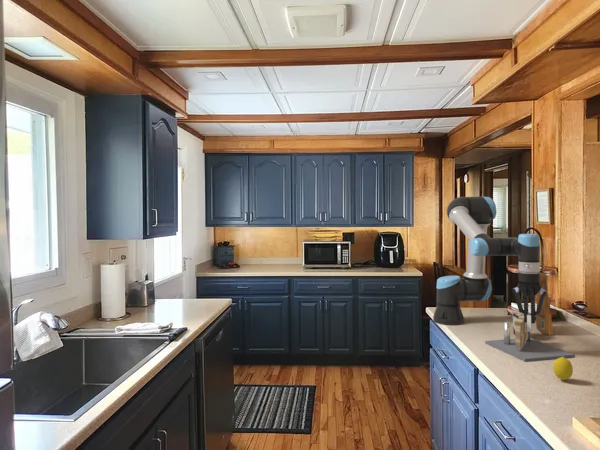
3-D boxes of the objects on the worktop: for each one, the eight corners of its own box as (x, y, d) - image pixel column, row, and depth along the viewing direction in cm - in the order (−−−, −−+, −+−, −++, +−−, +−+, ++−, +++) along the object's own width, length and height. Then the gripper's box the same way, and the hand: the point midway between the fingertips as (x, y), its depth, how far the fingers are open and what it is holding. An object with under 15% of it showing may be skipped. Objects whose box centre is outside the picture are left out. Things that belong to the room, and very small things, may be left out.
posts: (502, 345, 182) (502, 315, 182) (526, 341, 187) (526, 311, 187) (508, 347, 179) (508, 316, 179) (532, 343, 184) (532, 313, 184)
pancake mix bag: (539, 335, 196) (539, 274, 195) (530, 325, 214) (530, 269, 213) (556, 337, 194) (556, 274, 193) (545, 326, 212) (545, 269, 211)
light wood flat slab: (522, 338, 184) (522, 314, 184) (528, 338, 183) (528, 314, 182) (514, 347, 171) (514, 321, 171) (521, 348, 170) (521, 322, 170)
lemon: (549, 377, 146) (549, 354, 146) (565, 377, 146) (565, 353, 146) (560, 384, 140) (560, 359, 140) (576, 383, 141) (576, 359, 141)
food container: (535, 341, 187) (535, 318, 187) (520, 340, 188) (520, 318, 188) (526, 333, 199) (526, 312, 199) (512, 333, 201) (512, 311, 200)
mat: (485, 343, 186) (485, 340, 186) (529, 339, 190) (529, 337, 190) (524, 361, 162) (524, 358, 162) (574, 357, 166) (574, 354, 166)
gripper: (509, 272, 174) (510, 330, 174) (546, 274, 166) (546, 335, 166) (513, 270, 180) (514, 326, 180) (549, 272, 172) (549, 331, 172)
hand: (529, 330), depth 173 cm, fingers closed
